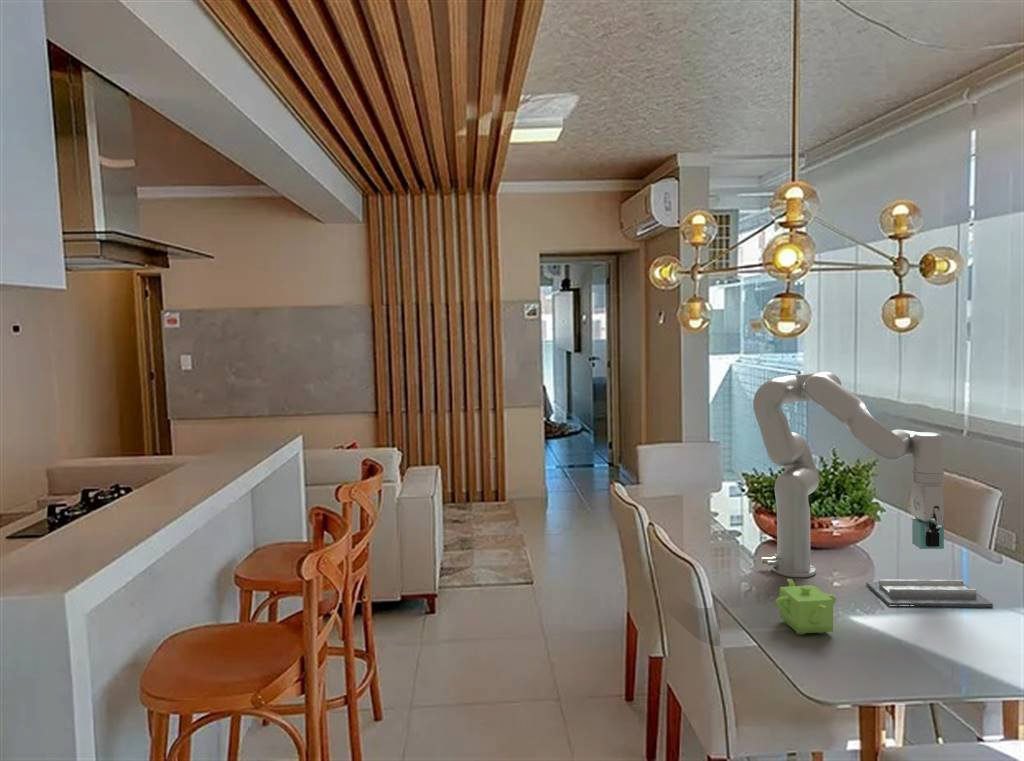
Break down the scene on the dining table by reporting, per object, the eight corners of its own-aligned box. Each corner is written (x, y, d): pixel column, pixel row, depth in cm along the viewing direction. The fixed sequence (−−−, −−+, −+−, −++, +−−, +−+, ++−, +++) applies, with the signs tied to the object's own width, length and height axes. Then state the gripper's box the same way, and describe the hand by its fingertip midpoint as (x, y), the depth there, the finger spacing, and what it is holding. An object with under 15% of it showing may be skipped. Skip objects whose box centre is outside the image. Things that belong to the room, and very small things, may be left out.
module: (920, 548, 196) (920, 523, 196) (912, 543, 201) (912, 518, 201) (943, 548, 196) (943, 523, 195) (935, 543, 201) (935, 518, 200)
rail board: (889, 606, 193) (889, 594, 193) (866, 585, 209) (866, 574, 209) (992, 607, 190) (992, 595, 190) (961, 585, 206) (961, 574, 206)
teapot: (857, 643, 172) (857, 600, 171) (793, 647, 171) (793, 603, 170) (816, 611, 192) (816, 572, 191) (759, 614, 191) (759, 575, 190)
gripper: (899, 471, 206) (900, 534, 207) (927, 484, 189) (927, 552, 191) (927, 471, 205) (927, 534, 207) (958, 484, 188) (957, 552, 190)
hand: (927, 542), depth 199 cm, fingers closed on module, 5 cm apart
